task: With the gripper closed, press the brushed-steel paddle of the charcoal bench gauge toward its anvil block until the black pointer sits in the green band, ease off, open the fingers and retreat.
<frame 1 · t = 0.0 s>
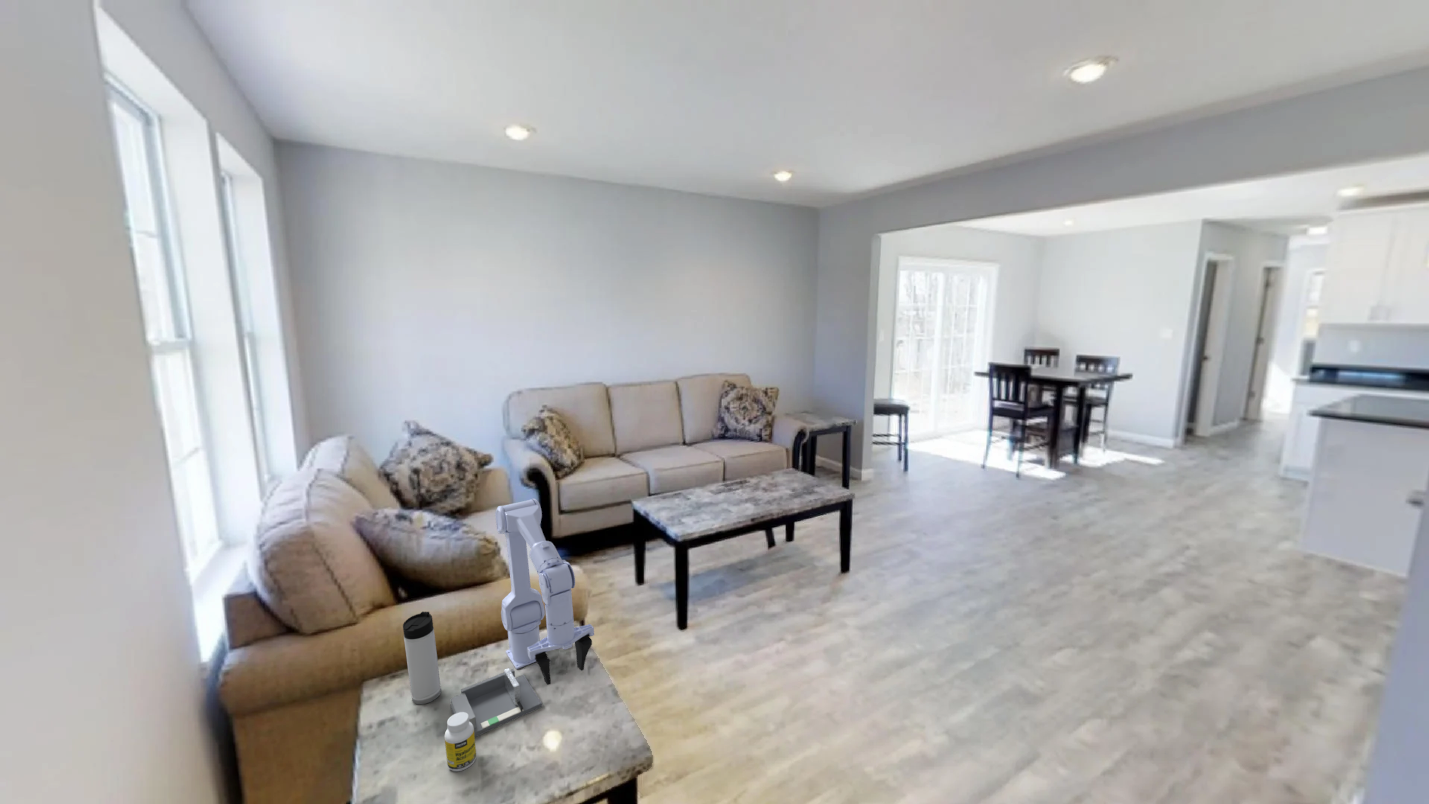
hand: (564, 675, 123), 10 cm above the table, tool pointing down, fingers open, 7 cm apart
supplement bottle: (462, 762, 113), on the table
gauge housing: (496, 707, 128), on the table
travel mug: (427, 696, 133), on the table
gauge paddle: (513, 689, 129), point 4 cm above the table, slide at 0.0 cm
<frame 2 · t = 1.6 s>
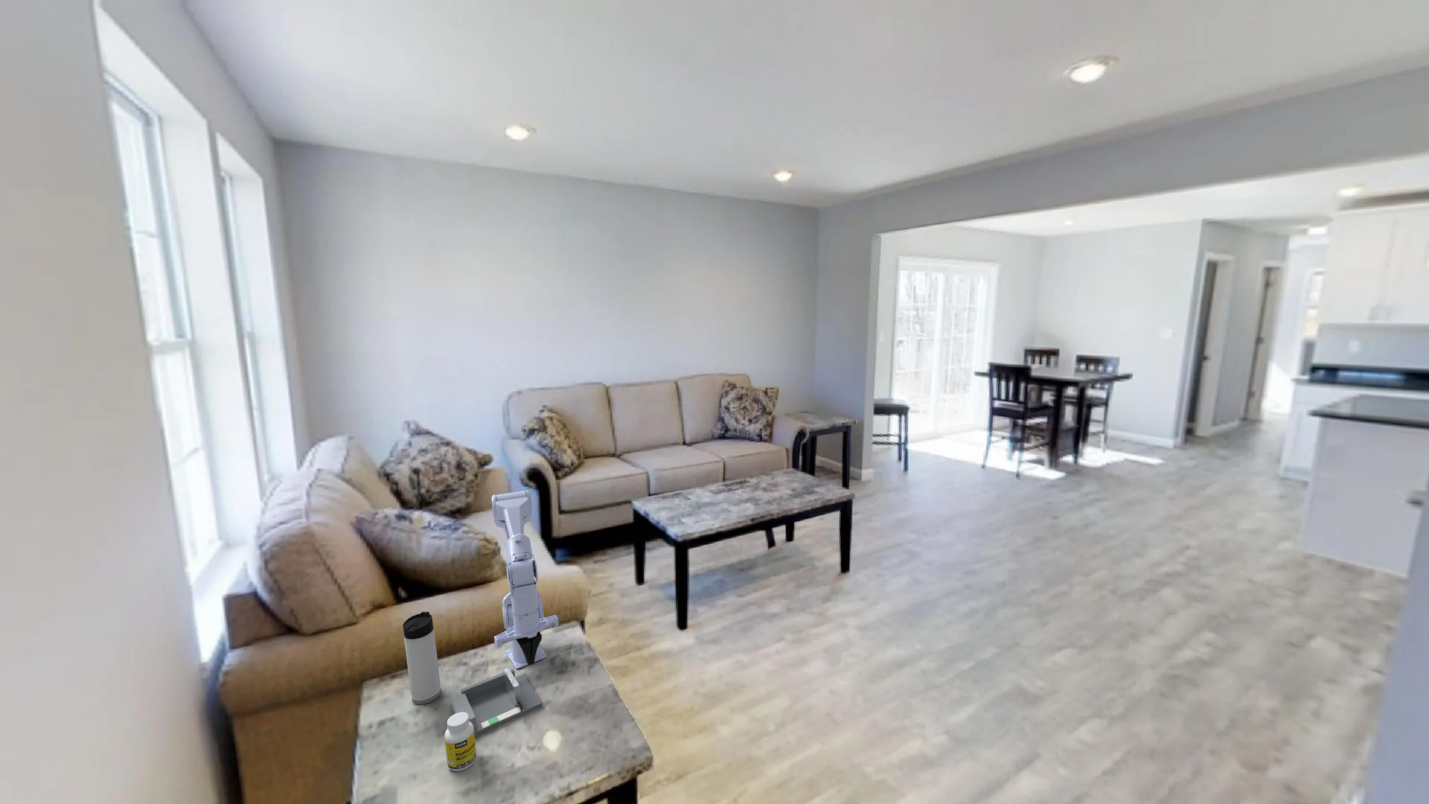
hand: (530, 662, 132), 8 cm above the table, tool pointing down, fingers closed
nothing on the table moved.
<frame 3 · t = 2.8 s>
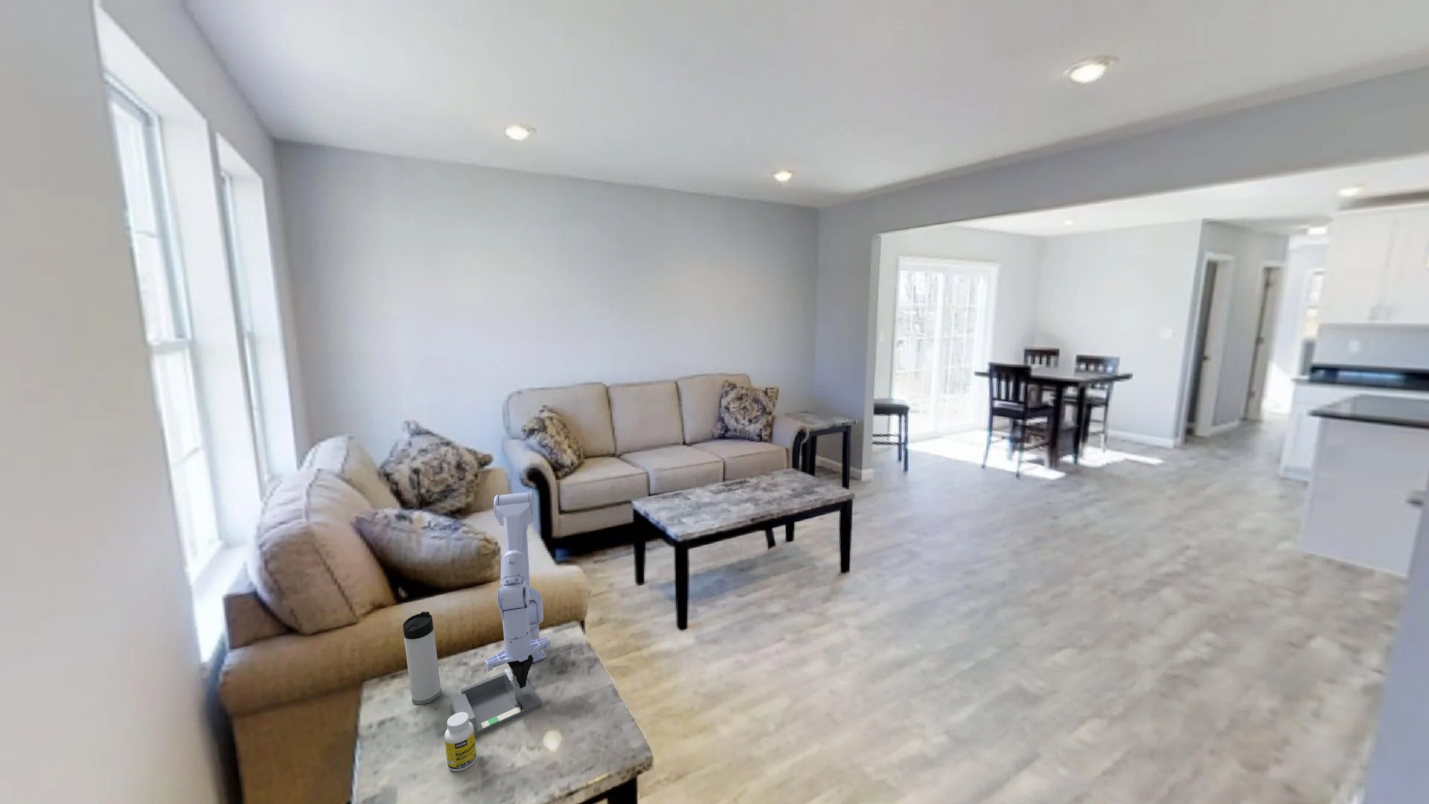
hand: (521, 685, 131), 3 cm above the table, tool pointing down, fingers closed
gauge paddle: (513, 689, 129), point 4 cm above the table, slide at 0.0 cm, touching gripper
everything else where it was.
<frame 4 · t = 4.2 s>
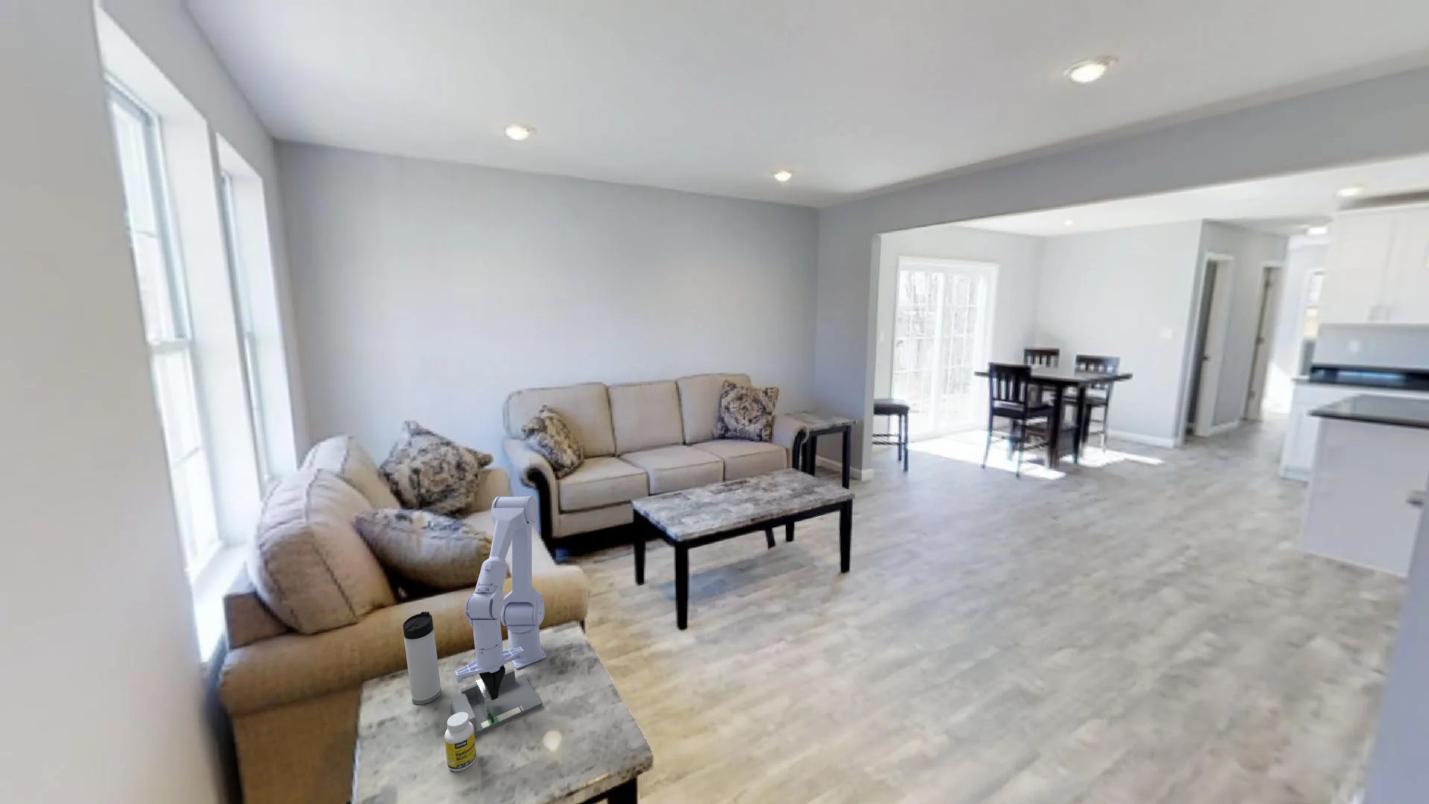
hand: (494, 696, 128), 3 cm above the table, tool pointing down, fingers closed
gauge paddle: (485, 701, 125), point 4 cm above the table, slide at 6.3 cm, touching gripper
everything else where it was.
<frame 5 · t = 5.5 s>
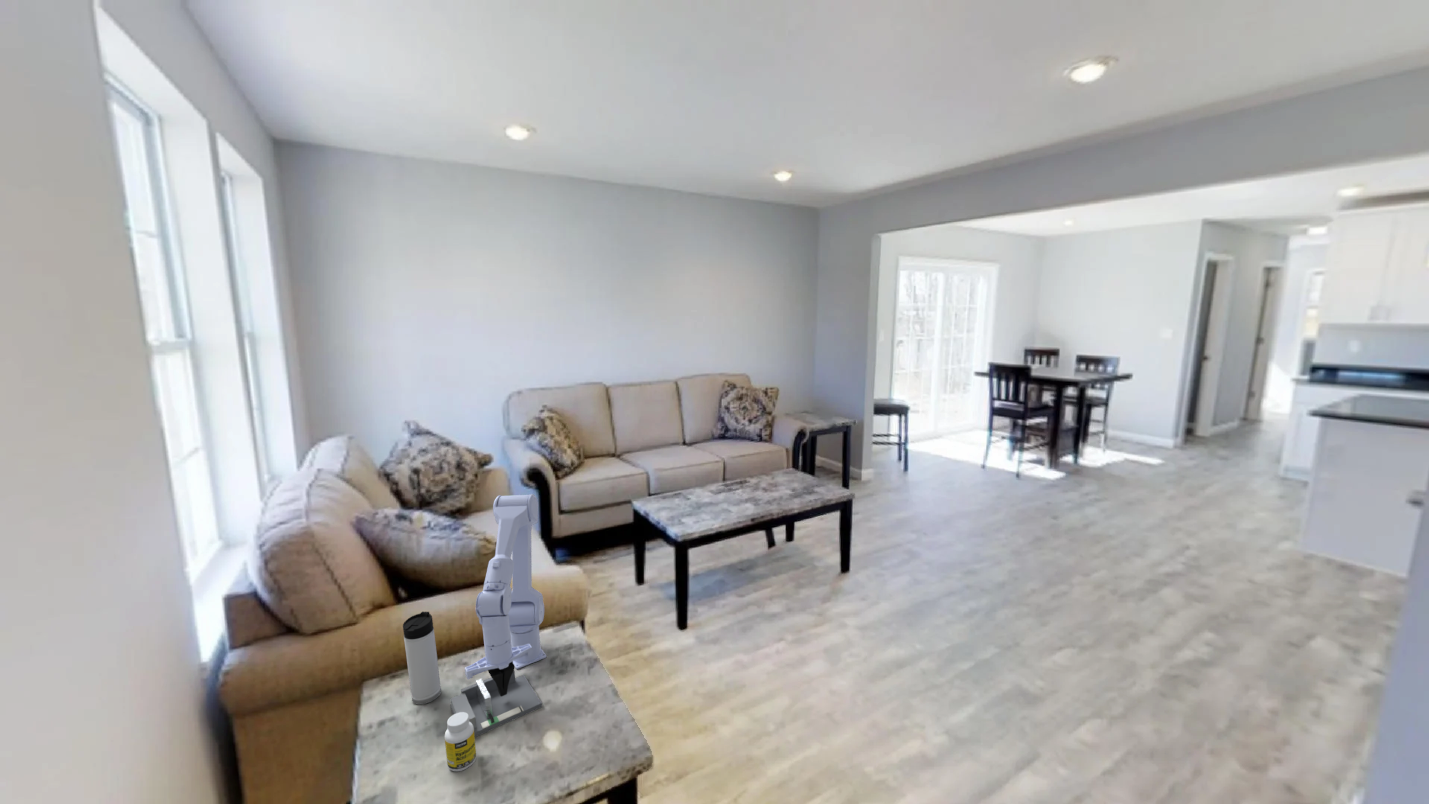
hand: (502, 693, 129), 3 cm above the table, tool pointing down, fingers closed
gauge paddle: (485, 701, 125), point 4 cm above the table, slide at 6.3 cm
everything else where it was.
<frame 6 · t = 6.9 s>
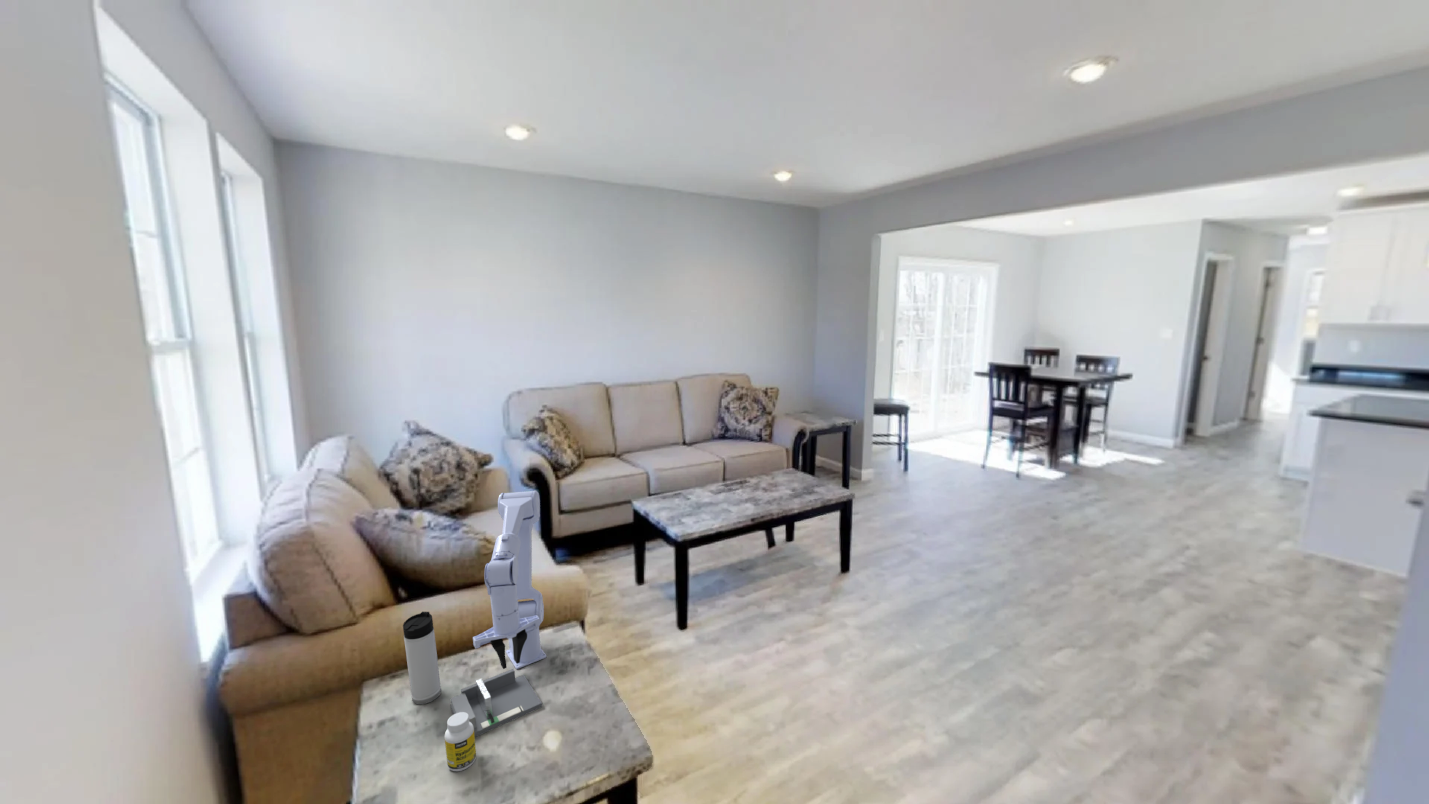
hand: (510, 663, 129), 9 cm above the table, tool pointing down, fingers closed
nothing on the table moved.
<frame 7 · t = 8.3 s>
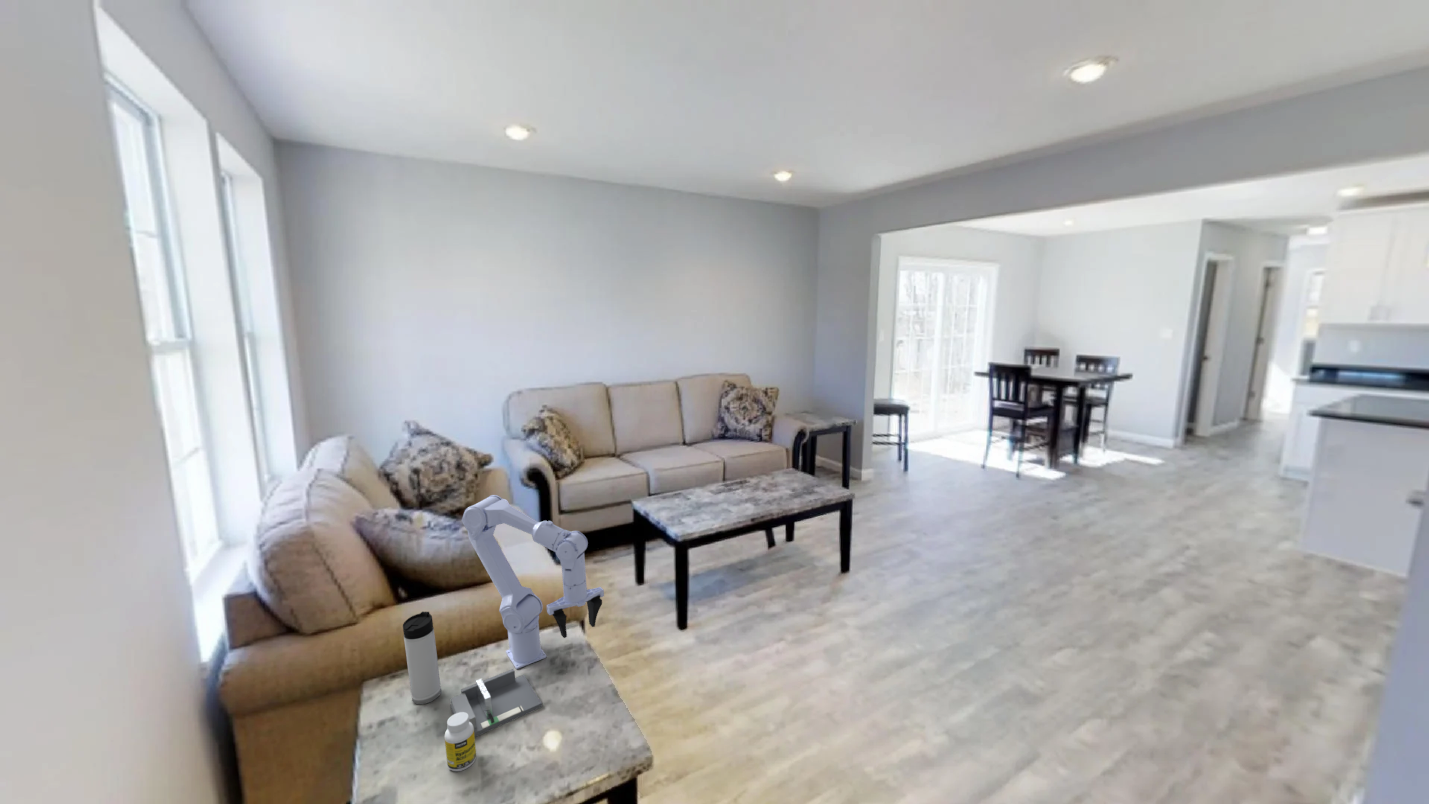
hand: (578, 630, 142), 9 cm above the table, tool pointing down, fingers open, 7 cm apart
nothing on the table moved.
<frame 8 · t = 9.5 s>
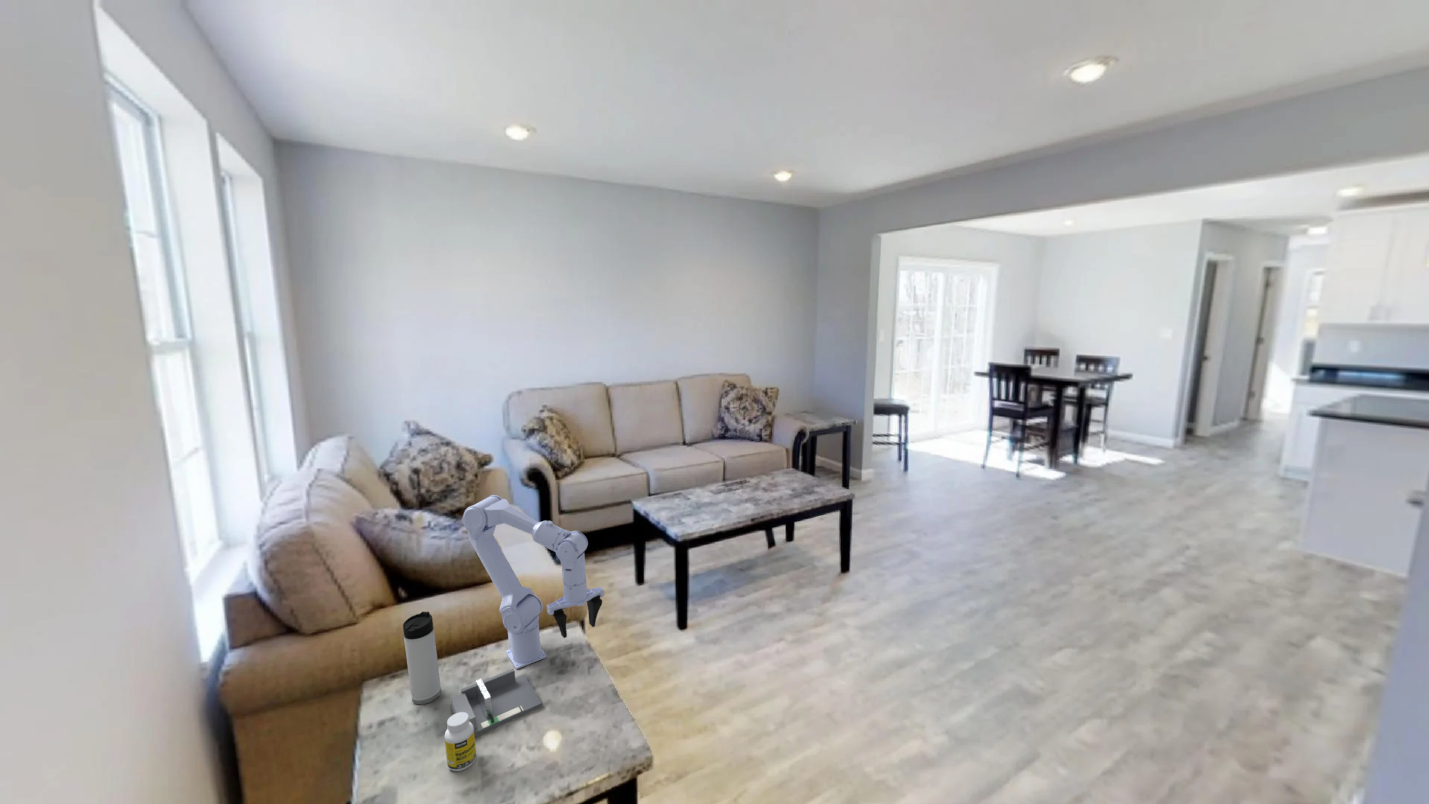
hand: (578, 630, 142), 9 cm above the table, tool pointing down, fingers open, 7 cm apart
nothing on the table moved.
at the end: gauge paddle slide at 6.3 cm; supplement bottle moved 0.2 cm from its start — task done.
